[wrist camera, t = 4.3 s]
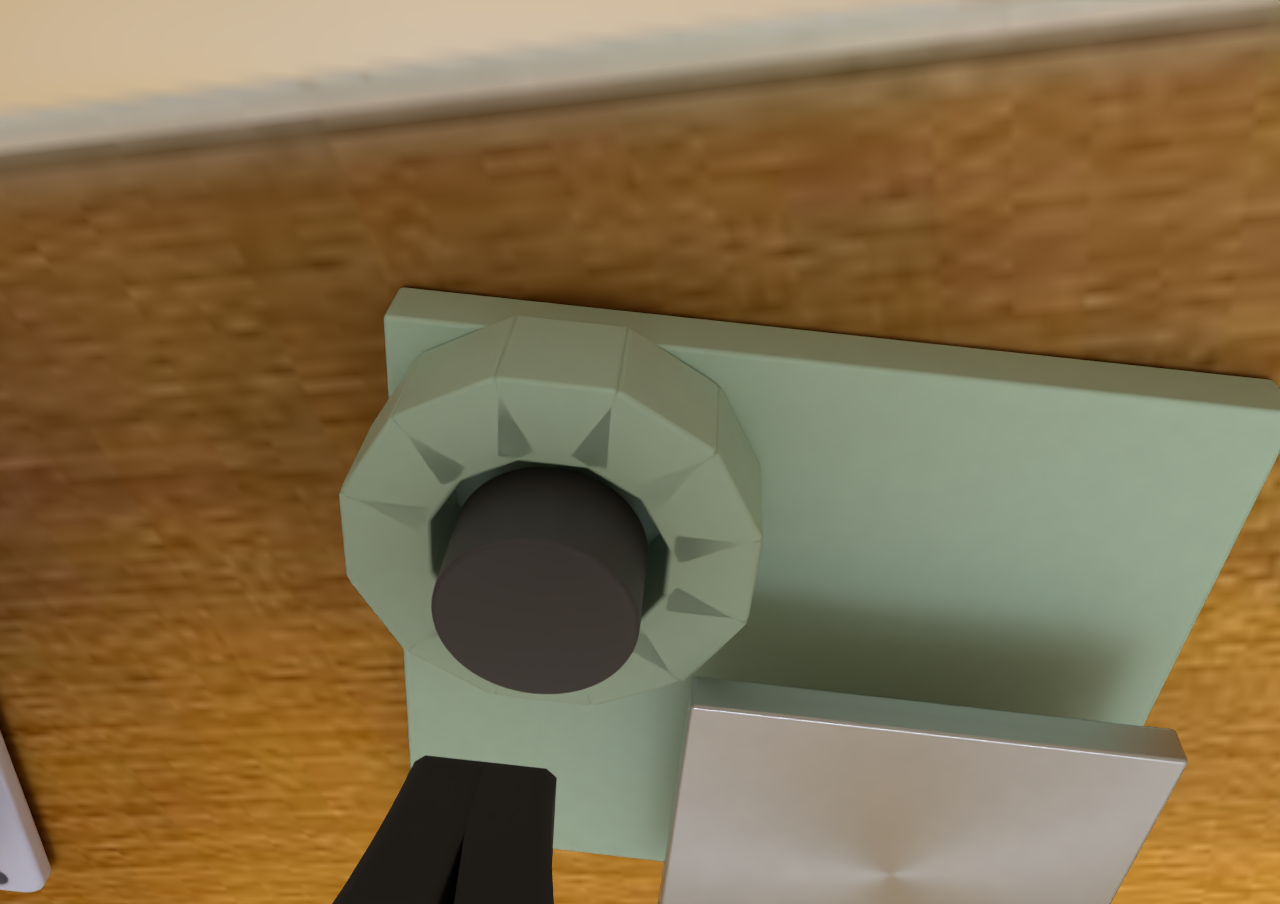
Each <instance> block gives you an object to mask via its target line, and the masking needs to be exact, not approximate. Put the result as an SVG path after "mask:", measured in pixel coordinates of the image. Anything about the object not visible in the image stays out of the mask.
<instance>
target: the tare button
mask: <svg viewBox="0 0 1280 904" xmlns="http://www.w3.org/2000/svg"><path fill="white" fill-rule="evenodd" d="M647 558H648V544H647V538H646V534H645V531H644V528H643V526H642V524H641V522H640V520H639V518H638V516H637V514H636V513H635V512H634V510H633V509H632V507H631V506H630V505H629V504H628V503H627V502H626V500H625V499H624V498H623V497H622V496H620V495H619V494H618V493H617V492H616V491H615V490H613V489H612V488H610V487H609V486H607V485H606V484H604V483H602V482H600V481H599V480H597V479H595V478H593V477H590V476H588V475H585V474H583V473H580V472H576V471H572V470H569V469H563V468H557V467H527V468H521V469H516V470H512V471H509V472H505V473H503V474H501V475H498V476H496V477H494V478H492V479H491V480H489V481H487V482H486V483H484V484H483V485H481V486H480V487H479V488H478V489H476V490H475V491H474V492H473V493H472V494H471V495H470V497H469V498H468V499H467V500H466V502H465V503H464V505H463V506H462V508H461V510H460V513H459V515H458V518H457V521H456V524H455V527H454V530H453V533H452V536H451V538H450V541H449V544H448V547H447V550H446V553H445V556H444V559H443V562H442V565H441V568H440V571H439V574H438V577H437V580H436V583H435V586H434V590H433V594H432V600H431V611H432V618H433V622H434V625H435V629H436V631H437V633H438V636H439V638H440V640H441V641H442V643H443V644H444V646H445V647H446V649H447V650H448V651H449V652H450V654H451V655H452V656H453V657H454V658H455V659H456V660H457V661H458V662H459V663H461V664H462V665H463V666H464V667H465V668H467V669H468V670H470V671H471V672H472V673H474V674H476V675H477V676H479V677H481V678H483V679H485V680H487V681H489V682H491V683H493V684H496V685H499V686H501V687H504V688H507V689H511V690H515V691H519V692H525V693H532V694H563V693H570V692H575V691H579V690H583V689H586V688H589V687H592V686H594V685H596V684H598V683H600V682H603V681H604V680H606V679H607V678H609V677H610V676H612V675H613V674H614V673H616V672H617V671H618V670H619V669H620V668H621V667H622V666H623V665H624V664H625V662H626V661H627V660H628V659H629V657H630V656H631V654H632V652H633V651H634V649H635V646H636V644H637V641H638V637H639V632H640V623H641V614H642V605H643V595H644V586H645V577H646V568H647Z"/></svg>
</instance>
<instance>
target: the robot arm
mask: <svg viewBox="0 0 1280 904" xmlns="http://www.w3.org/2000/svg"><path fill="white" fill-rule="evenodd" d="M556 782H557V778H556V777H555V776H554V775H553V774H552V773H551V772H550V771H548V770H547V769H545V768H536V767H527V766H518V765H509V764H500V763H491V762H482V761H473V760H463V759H454V758H445V757H436V756H427V755H425V756H423V757H422V758H420V759H418V760H416V761H415V762H414V764H413V766H412V768H411V770H410V772H409V774H408V776H407V778H406V780H405V782H404V784H403V786H402V788H401V790H400V792H399V794H398V796H397V798H396V799H395V801H394V803H393V805H392V807H391V809H390V810H389V812H388V814H387V816H386V818H385V819H384V821H383V823H382V825H381V826H380V828H379V830H378V832H377V833H376V835H375V837H374V838H373V840H372V842H371V844H370V845H369V847H368V848H367V850H366V852H365V853H364V855H363V857H362V858H361V860H360V861H359V863H358V865H357V866H356V868H355V870H354V871H353V873H352V874H351V876H350V878H349V879H348V881H347V883H346V884H345V886H344V887H343V889H342V890H341V892H340V893H339V895H338V896H337V898H336V899H335V901H334V902H333V904H554V901H553V882H552V854H553V836H554V818H555V800H556ZM50 874H51V867H50V864H49V861H48V858H47V856H46V853H45V850H44V848H43V845H42V842H41V840H40V837H39V834H38V831H37V829H36V826H35V823H34V821H33V818H32V815H31V813H30V810H29V807H28V804H27V802H26V799H25V796H24V794H23V791H22V788H21V785H20V783H19V780H18V777H17V775H16V772H15V769H14V767H13V764H12V761H11V758H10V756H9V753H8V750H7V748H6V745H5V742H4V740H3V737H2V734H1V731H0V890H8V891H17V892H35V891H37V890H40V889H41V888H42V887H43V886H44V885H45V883H46V881H47V879H48V878H49V876H50Z"/></svg>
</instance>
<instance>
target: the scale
mask: <svg viewBox="0 0 1280 904" xmlns="http://www.w3.org/2000/svg"><path fill="white" fill-rule="evenodd" d="M384 331H385V348H386V365H387V382H388V399H389V400H388V401H387V403H386V404H385V406H384V407H383V409H382V410H381V412H380V413H379V415H378V416H377V418H376V419H375V421H374V422H373V424H372V425H371V427H370V429H369V431H368V433H367V435H366V438H365V440H364V442H363V444H362V446H361V448H360V450H359V452H358V454H357V456H356V458H355V460H354V462H353V464H352V466H351V468H350V470H349V472H348V474H347V476H346V479H345V481H344V483H343V485H342V489H341V491H340V494H339V500H340V511H341V521H342V532H343V542H344V553H345V564H346V574H347V577H348V578H350V582H351V583H352V584H353V586H354V587H355V588H356V590H357V591H358V592H359V593H360V595H361V596H362V597H363V598H364V600H365V601H366V602H367V603H368V605H369V606H370V607H371V608H372V610H373V611H374V612H375V614H376V615H377V616H378V617H379V619H380V620H381V621H382V622H383V624H384V625H385V626H386V627H387V629H388V630H389V631H390V633H391V634H392V635H393V636H394V638H395V639H396V640H397V641H398V643H399V644H400V645H401V646H402V647H403V652H404V669H405V686H406V703H407V720H408V737H409V754H410V770H411V768H412V766H413V764H414V762H415V761H416V760H418V759H420V758H422V757H423V756H425V755H427V756H436V757H445V758H454V759H463V760H473V761H482V762H491V763H500V764H509V765H518V766H527V767H536V768H545V769H547V770H548V771H550V772H551V773H552V774H553V775H554V776H555V777H556V778H557V782H556V800H555V818H554V836H553V849H559V850H568V851H577V852H586V853H594V854H603V855H612V856H621V857H629V858H638V859H647V860H655V861H664V859H665V852H666V846H667V839H668V832H669V826H670V819H671V813H672V806H673V799H674V793H675V786H676V779H677V773H678V766H679V760H680V753H681V746H682V740H683V733H684V726H685V720H686V713H687V707H688V700H689V693H690V687H691V680H692V678H693V677H694V676H699V677H708V678H717V679H726V680H735V681H744V682H753V683H762V684H771V685H779V686H788V687H797V688H806V689H815V690H824V691H833V692H842V693H851V694H860V695H869V696H878V697H887V698H896V699H905V700H914V701H923V702H931V703H940V704H949V705H958V706H967V707H976V708H985V709H994V710H1003V711H1012V712H1021V713H1030V714H1039V715H1048V716H1057V717H1066V718H1075V719H1083V720H1092V721H1101V722H1110V723H1119V724H1128V725H1137V726H1143V725H1144V723H1145V721H1146V719H1147V717H1148V715H1149V713H1150V711H1151V709H1152V707H1153V705H1154V703H1155V701H1156V699H1157V697H1158V695H1159V693H1160V691H1161V689H1162V687H1163V685H1164V683H1165V681H1166V679H1167V677H1168V675H1169V673H1170V671H1171V669H1172V667H1173V665H1174V663H1175V661H1176V659H1177V657H1178V655H1179V653H1180V651H1181V649H1182V647H1183V645H1184V643H1185V641H1186V639H1187V637H1188V635H1189V633H1190V631H1191V629H1192V627H1193V625H1194V623H1195V621H1196V619H1197V617H1198V615H1199V613H1200V611H1201V609H1202V607H1203V605H1204V603H1205V601H1206V599H1207V597H1208V595H1209V593H1210V591H1211V589H1212V587H1213V585H1214V583H1215V581H1216V579H1217V577H1218V575H1219V573H1220V571H1221V569H1222V567H1223V565H1224V563H1225V561H1226V559H1227V557H1228V555H1229V553H1230V551H1231V549H1232V547H1233V545H1234V543H1235V541H1236V539H1237V537H1238V535H1239V533H1240V531H1241V529H1242V527H1243V525H1244V523H1245V521H1246V519H1247V517H1248V515H1249V513H1250V511H1251V509H1252V507H1253V505H1254V503H1255V501H1256V499H1257V497H1258V495H1259V493H1260V491H1261V489H1262V487H1263V485H1264V483H1265V481H1266V479H1267V477H1268V475H1269V473H1270V471H1271V469H1272V467H1273V465H1274V463H1275V461H1276V459H1277V457H1278V455H1279V453H1280V389H1279V387H1278V386H1277V384H1276V383H1275V382H1274V381H1272V380H1268V379H1258V378H1249V377H1240V376H1230V375H1221V374H1211V373H1202V372H1193V371H1183V370H1174V369H1165V368H1155V367H1146V366H1136V365H1127V364H1118V363H1108V362H1099V361H1090V360H1080V359H1071V358H1061V357H1052V356H1043V355H1033V354H1024V353H1014V352H1005V351H996V350H986V349H977V348H968V347H958V346H949V345H939V344H930V343H921V342H911V341H902V340H893V339H883V338H874V337H864V336H855V335H846V334H836V333H827V332H817V331H808V330H799V329H789V328H780V327H771V326H761V325H752V324H742V323H733V322H724V321H714V320H705V319H696V318H686V317H677V316H667V315H658V314H649V313H639V312H630V311H620V310H611V309H602V308H592V307H583V306H574V305H564V304H555V303H545V302H536V301H527V300H517V299H508V298H499V297H489V296H480V295H470V294H461V293H452V292H442V291H433V290H423V289H414V288H405V287H404V288H400V289H399V290H398V292H397V294H396V296H395V298H394V300H393V301H392V303H391V305H390V307H389V309H388V310H387V312H386V314H385V316H384ZM527 467H557V468H563V469H569V470H572V471H576V472H580V473H583V474H585V475H588V476H590V477H593V478H595V479H597V480H599V481H600V482H602V483H604V484H606V485H607V486H609V487H610V488H612V489H613V490H615V491H616V492H617V493H618V494H619V495H620V496H622V497H623V498H624V499H625V500H626V502H627V503H628V504H629V505H630V506H631V507H632V509H633V510H634V512H635V513H636V514H637V516H638V518H639V520H640V522H641V524H642V526H643V528H644V531H645V534H646V538H647V544H648V558H647V568H646V577H645V586H644V595H643V605H642V614H641V623H640V632H639V637H638V641H637V644H636V646H635V649H634V651H633V652H632V654H631V656H630V657H629V659H628V660H627V661H626V662H625V664H624V665H623V666H622V667H621V668H620V669H619V670H618V671H617V672H616V673H614V674H613V675H612V676H610V677H609V678H607V679H606V680H604V681H603V682H600V683H598V684H596V685H594V686H592V687H589V688H586V689H583V690H579V691H575V692H570V693H563V694H532V693H525V692H519V691H515V690H511V689H507V688H504V687H501V686H499V685H496V684H493V683H491V682H489V681H487V680H485V679H483V678H481V677H479V676H477V675H476V674H474V673H472V672H471V671H470V670H468V669H467V668H465V667H464V666H463V665H462V664H461V663H459V662H458V661H457V660H456V659H455V658H454V657H453V656H452V655H451V654H450V652H449V651H448V650H447V649H446V647H445V646H444V644H443V643H442V641H441V640H440V638H439V636H438V633H437V631H436V629H435V625H434V622H433V618H432V611H431V600H432V594H433V590H434V586H435V583H436V580H437V577H438V574H439V571H440V568H441V565H442V562H443V559H444V556H445V553H446V550H447V547H448V544H449V541H450V538H451V536H452V533H453V530H454V527H455V524H456V521H457V518H458V515H459V513H460V510H461V508H462V506H463V505H464V503H465V502H466V500H467V499H468V498H469V497H470V495H471V494H472V493H473V492H474V491H475V490H476V489H478V488H479V487H480V486H481V485H483V484H484V483H486V482H487V481H489V480H491V479H492V478H494V477H496V476H498V475H501V474H503V473H505V472H509V471H512V470H516V469H521V468H527Z"/></svg>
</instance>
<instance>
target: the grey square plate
mask: <svg viewBox="0 0 1280 904" xmlns="http://www.w3.org/2000/svg"><path fill="white" fill-rule="evenodd" d="M1186 765H1187V758H1186V755H1185V753H1184V751H1183V748H1182V746H1181V743H1180V741H1179V738H1178V736H1177V733H1176V731H1175V730H1172V729H1164V728H1155V727H1146V726H1137V725H1128V724H1119V723H1110V722H1101V721H1092V720H1083V719H1075V718H1066V717H1057V716H1048V715H1039V714H1030V713H1021V712H1012V711H1003V710H994V709H985V708H976V707H967V706H958V705H949V704H940V703H931V702H923V701H914V700H905V699H896V698H887V697H878V696H869V695H860V694H851V693H842V692H833V691H824V690H815V689H806V688H797V687H788V686H779V685H771V684H762V683H753V682H744V681H735V680H726V679H717V678H708V677H699V676H694V677H693V678H692V680H691V687H690V693H689V700H688V707H687V713H686V720H685V726H684V733H683V740H682V746H681V753H680V760H679V766H678V773H677V779H676V786H675V793H674V799H673V806H672V813H671V819H670V826H669V832H668V839H667V846H666V852H665V859H664V866H663V872H662V879H661V885H660V892H659V899H658V904H1111V902H1112V900H1113V898H1114V896H1115V895H1116V893H1117V891H1118V889H1119V887H1120V885H1121V884H1122V882H1123V880H1124V878H1125V876H1126V875H1127V873H1128V871H1129V869H1130V867H1131V865H1132V864H1133V862H1134V860H1135V858H1136V856H1137V854H1138V853H1139V851H1140V849H1141V847H1142V845H1143V844H1144V842H1145V840H1146V838H1147V836H1148V834H1149V833H1150V831H1151V829H1152V827H1153V825H1154V823H1155V822H1156V820H1157V818H1158V816H1159V814H1160V813H1161V811H1162V809H1163V807H1164V805H1165V803H1166V802H1167V800H1168V798H1169V796H1170V794H1171V792H1172V791H1173V789H1174V787H1175V785H1176V783H1177V782H1178V780H1179V778H1180V776H1181V774H1182V772H1183V771H1184V769H1185V767H1186Z"/></svg>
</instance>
